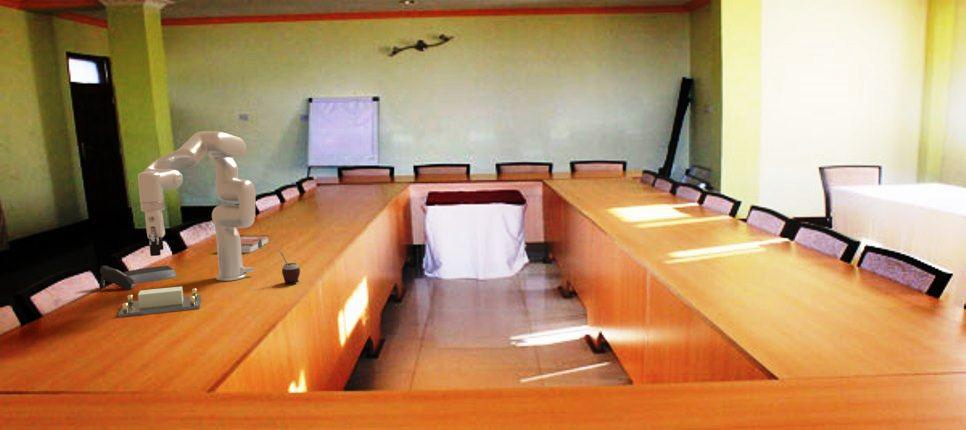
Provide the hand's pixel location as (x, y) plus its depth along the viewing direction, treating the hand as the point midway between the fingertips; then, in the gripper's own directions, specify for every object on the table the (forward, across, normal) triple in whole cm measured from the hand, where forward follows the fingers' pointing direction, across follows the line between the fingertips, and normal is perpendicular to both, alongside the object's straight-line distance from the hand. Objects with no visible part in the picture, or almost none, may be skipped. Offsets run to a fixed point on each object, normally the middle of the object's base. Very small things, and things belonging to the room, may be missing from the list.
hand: (157, 252), depth 230 cm
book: (+21, +98, -30) cm, 105 cm away
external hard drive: (+21, +48, +10) cm, 54 cm away
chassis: (+20, 0, 0) cm, 20 cm away
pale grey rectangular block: (+19, 0, 0) cm, 19 cm away
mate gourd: (+21, +15, -46) cm, 53 cm away
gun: (+21, +35, +20) cm, 45 cm away
